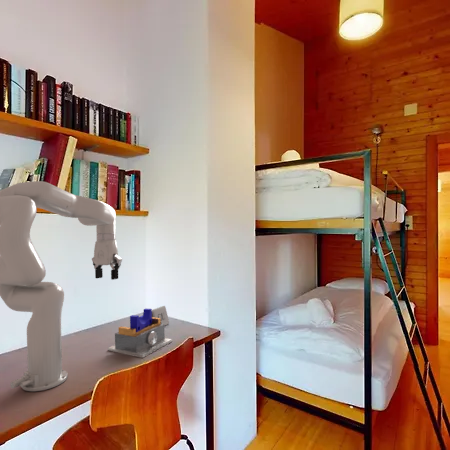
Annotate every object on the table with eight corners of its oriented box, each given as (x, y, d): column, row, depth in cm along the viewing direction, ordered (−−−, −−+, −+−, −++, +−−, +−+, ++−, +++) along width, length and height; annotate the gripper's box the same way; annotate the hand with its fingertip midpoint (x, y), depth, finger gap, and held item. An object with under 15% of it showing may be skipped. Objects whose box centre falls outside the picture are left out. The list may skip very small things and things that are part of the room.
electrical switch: (157, 329, 149) (155, 309, 150) (149, 329, 151) (147, 309, 152) (169, 324, 157) (168, 305, 158) (161, 323, 160) (160, 305, 160)
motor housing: (142, 357, 116) (142, 332, 116) (107, 350, 124) (107, 326, 125) (172, 341, 132) (171, 319, 132) (139, 336, 140) (138, 314, 141)
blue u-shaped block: (142, 322, 135) (142, 308, 135) (152, 322, 133) (151, 308, 134) (126, 331, 123) (126, 316, 123) (137, 332, 122) (136, 316, 122)
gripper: (85, 238, 133) (85, 278, 132) (113, 237, 124) (113, 281, 124) (99, 237, 139) (100, 276, 139) (127, 237, 131) (128, 278, 130)
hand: (106, 278), depth 131 cm, fingers open, 9 cm apart
